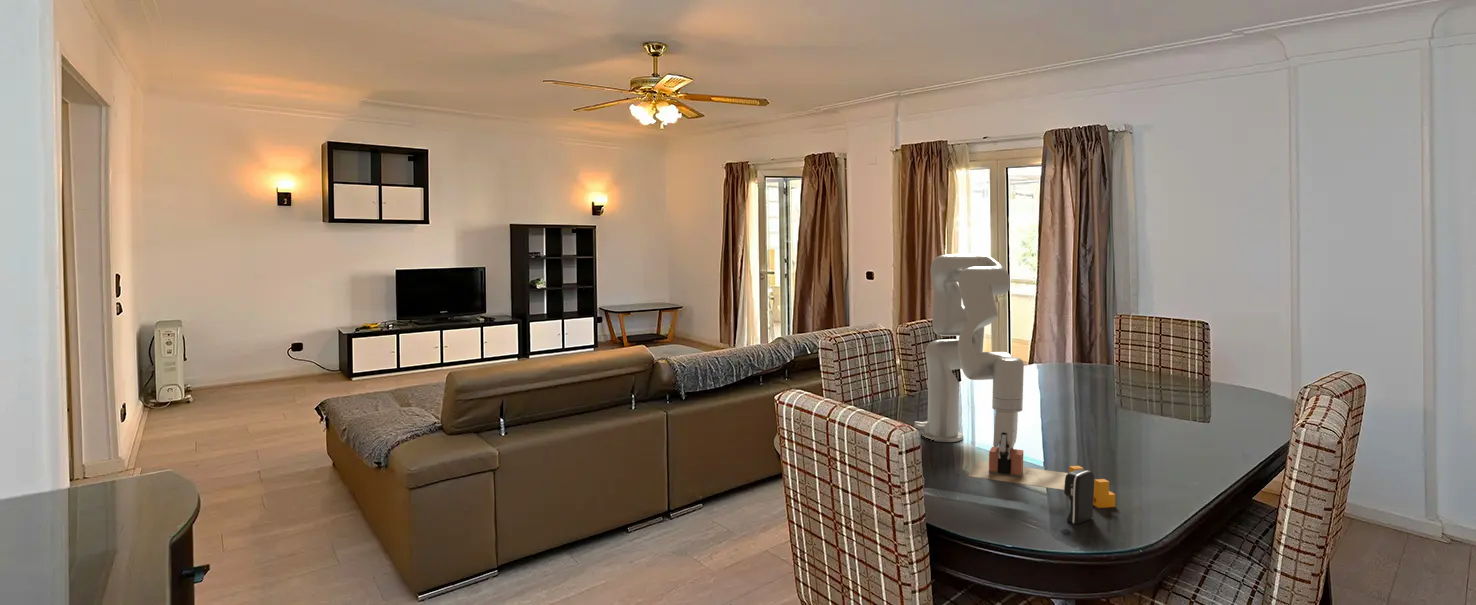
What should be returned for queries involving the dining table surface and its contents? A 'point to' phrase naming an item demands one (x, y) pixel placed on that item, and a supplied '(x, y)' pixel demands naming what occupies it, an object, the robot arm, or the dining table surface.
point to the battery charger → (1080, 495)
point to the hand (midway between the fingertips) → (1005, 469)
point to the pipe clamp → (1100, 491)
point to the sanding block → (1016, 462)
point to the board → (1023, 476)
